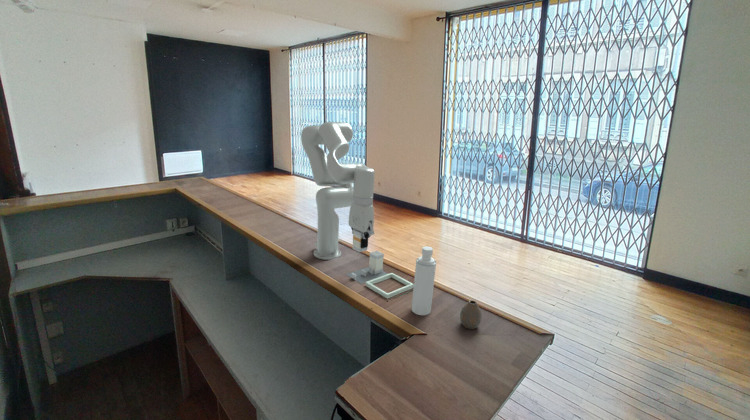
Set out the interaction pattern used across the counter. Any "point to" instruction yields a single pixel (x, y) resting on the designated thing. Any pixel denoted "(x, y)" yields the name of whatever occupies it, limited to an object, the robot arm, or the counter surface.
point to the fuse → (376, 262)
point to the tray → (393, 293)
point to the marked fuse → (358, 241)
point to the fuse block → (365, 275)
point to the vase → (471, 315)
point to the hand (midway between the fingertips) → (360, 245)
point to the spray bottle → (424, 282)
